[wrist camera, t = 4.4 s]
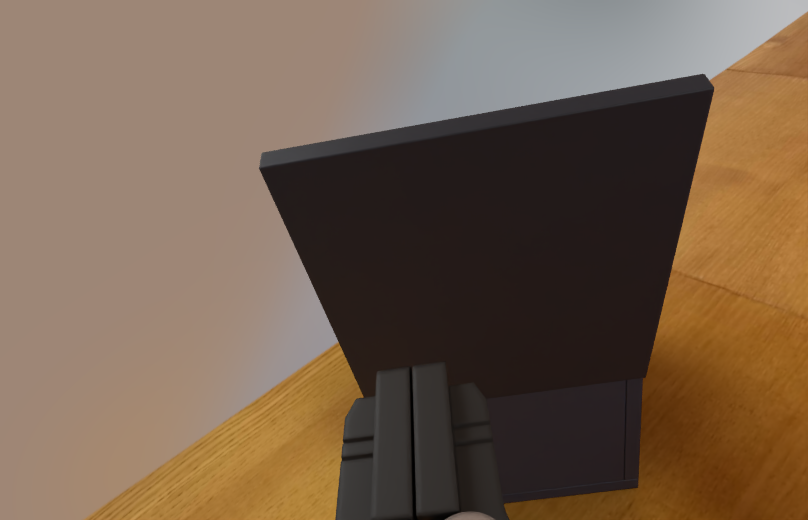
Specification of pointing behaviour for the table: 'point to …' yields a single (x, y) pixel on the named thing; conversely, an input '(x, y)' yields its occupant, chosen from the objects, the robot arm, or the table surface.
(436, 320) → the case lid
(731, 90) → the table surface
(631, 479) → the case
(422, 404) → the robot arm
